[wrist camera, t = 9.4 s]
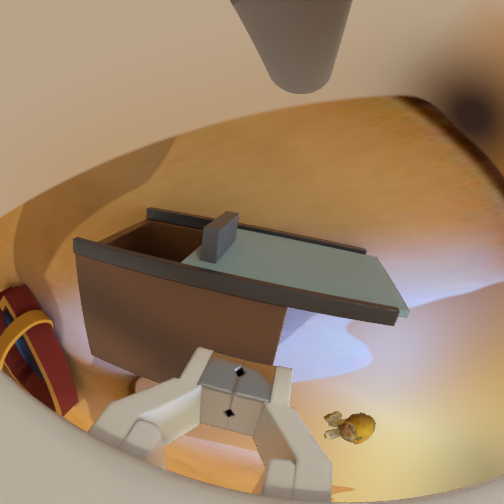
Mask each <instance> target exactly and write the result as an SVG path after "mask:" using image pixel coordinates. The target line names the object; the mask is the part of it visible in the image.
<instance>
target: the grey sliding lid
mask: <svg viewBox="0 0 504 504" xmlns="http://www.w3.org/2000/svg"><path fill="white" fill-rule="evenodd" d="M238 219H239V213H233V212H228V211H226V212H225V213H223V214H222V215H221V216H219V217H218V218H216V219H215V220H213V221H212V222H210V223H209V224H208V225H206V226H205V227H204V228H203V236H202V245H200V246H199V247H198V248H197V249H196V250H195V251H194V252H192V253H191V254H190V255H189V256H188V257H187V258H185V259H184V260H183V261H182V262H181V263H184V264H188V265H193V266H197V267H201V268H206V269H210V270H215V271H219V272H224V273H228V274H233V275H237V276H242V277H246V278H251V279H256V280H260V281H265V282H270V283H275V284H279V285H284V286H289V287H294V288H299V289H304V290H309V291H314V292H319V293H324V294H329V295H334V296H339V297H345V298H350V299H355V300H361V301H366V302H371V303H377V304H382V305H388V306H394V307H398V308H399V310H400V313H399V315H398V317H404V318H407V317H408V315H409V312H410V310H409V308H408V307H407V305H406V303H405V302H404V300H403V298H402V296H401V295H400V293H399V291H398V290H397V288H396V286H395V285H394V283H393V282H392V280H391V278H390V277H389V275H388V273H387V272H386V270H385V269H384V267H383V266H382V264H381V262H380V261H379V259H378V258H377V257H374V256H369V255H365V254H360V253H355V252H351V251H346V250H341V249H337V248H332V247H327V246H322V245H317V244H313V243H308V242H303V241H298V240H293V239H288V238H283V237H278V236H273V235H268V234H263V233H258V232H253V231H248V230H242V229H237V227H238Z"/></svg>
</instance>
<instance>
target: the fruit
mask: <svg viewBox="0 0 504 504" xmlns="http://www.w3.org/2000/svg"><path fill="white" fill-rule="evenodd" d="M341 416H342V415H341V413H340V412H334V413H332V414H328V415H326V416H325V417H324V419H325V420H326V421H327V422H328V423H329V426H332V427H338V428H337V429H333V430H328V431H326V433H325V434H324V436H325V438H326V439H334V438H336V437H339V436H341V437H342V438H343V439H345V440H346V441H349V442H353V443H354V444H360V443H362V442H364V441H365V440H367V439H368V438H369V437H370V436H371V435H372V433H373V432H374V430H375V424H376V423H375V421H374V419H373V418H372V417H371V416H368V415H366V414H364V413H359V414H352V415H351V416H350V417H349V418H347V419H343V420H342V419H341Z"/></svg>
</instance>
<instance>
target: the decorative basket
mask: <svg viewBox="0 0 504 504" xmlns="http://www.w3.org/2000/svg"><path fill="white" fill-rule="evenodd" d="M53 325H54V324H53V322H52V320H51V319H50V318H49V317H48V316H47V315H46V314H45V312H44V311H42V309H41V308H40V306H39V304H38V303H37V301H36V300H35V298H34V296H33V295H32V293H31V292H30V290H29V289H28V288H27V286H26V285H23V286H21V287H18V286H17V287H15V288H12V287H10V288H8V289H6V290H4V291H2V292H0V369H1V370H2V368H3V363H4V364H6V366H7V368H8V370H9V371H10V373H11V374H12V375H13V376H14V378H15V379H16V380H17V381H18V382H19V384H20V385H21V386H22V388H23V389H25V390H26V391H27V392H28V393H30V394H31V395H32V396H33V397H35V398H36V399H37V400H39V401H40V402H42V403H43V404H44V405H46V406H47V407H48V408H50V409H51V410H53V411H54V412H56V413H57V414H59V415H60V416H62V417H63V416H64V415H65V414H66V413H67V412H68V411H69V410H70V409H71V408H72V407H73V406H74V405H75V404H76V403H77V402H78V396H77V391H76V387H75V384H74V380H73V377H72V374H71V371H70V368H69V366H68V363H67V361H66V358H65V356H64V353H63V351H62V349H61V347H60V345H59V342H58V340H57V338H56V336H55V334H54V332H53Z"/></svg>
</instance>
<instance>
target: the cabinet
mask: <svg viewBox="0 0 504 504" xmlns="http://www.w3.org/2000/svg"><path fill="white" fill-rule="evenodd" d="M146 218H147V219H146V220H144V221H142V222H140V223H137V224H135V225H133V226H131V227H129V228H126V229H124V230H122V231H120V232H118V233H116V234H114V235H111V236H109V237H107V238H105V239H103V240H101V241H99V242H94V241H90V240H86V239H83V238H79V237H76V238H74V239H73V250H74V253H75V256H76V266H77V275H78V284H79V291H80V298H81V304H82V310H83V316H84V321H85V327H86V332H87V336H88V341H89V346H90V350H91V354H92V355H93V356H95V357H98V358H100V359H102V360H104V361H106V362H108V363H111V364H113V365H115V366H117V367H120V368H122V369H125V370H127V371H129V372H132V373H134V374H137V375H139V376H142V377H144V378H147V379H150V380H152V381H155V382H158V383H162V382H165V381H167V380H169V379H172V378H178V379H179V377H180V376H181V374H182V372H183V371H184V369H185V367H186V365H187V364H188V362H189V360H190V359H191V357H192V355H193V353H194V352H195V350H196V349H197V348H198V347H199V346H200V347H203V348H206V349H210V350H213V351H217V352H221V353H224V354H228V355H231V356H235V357H239V358H242V359H246V360H251V361H255V362H260V363H264V364H269V365H273V363H274V359H275V355H276V351H277V348H278V344H279V340H280V336H281V332H282V328H283V324H284V320H285V316H286V312H287V308H288V307H290V308H295V309H300V310H305V311H310V312H316V313H321V314H326V315H331V316H337V317H342V318H348V319H354V320H360V321H365V322H372V323H377V324H384V325H390V326H394V325H395V323H396V320H397V318H398V315H399V313H400V310H399V308H398V307H394V306H388V305H382V304H377V303H371V302H366V301H361V300H355V299H350V298H345V297H339V296H334V295H329V294H324V293H319V292H314V291H309V290H304V289H299V288H294V287H289V286H284V285H279V284H275V283H270V282H265V281H260V280H256V279H251V278H246V277H242V276H237V275H233V274H228V273H224V272H219V271H215V270H210V269H206V268H201V267H197V266H193V265H188V264H184V263H181V262H182V261H183V260H184V259H185V258H187V257H188V256H189V255H190V254H191V253H192V252H194V251H195V250H196V249H197V248H198V247H199V246H200V245H202V236H203V228H204V227H205V226H206V225H208V224H209V223H210V222H212V221H213V220H215V219H214V218H209V217H203V216H198V215H192V214H186V213H180V212H175V211H169V210H163V209H157V208H151V207H150V208H147V217H146ZM237 229H242V230H248V231H253V232H258V233H263V234H268V235H273V236H278V237H283V238H288V239H293V240H298V241H303V242H308V243H313V244H317V245H322V246H327V247H332V248H337V249H341V250H346V251H351V252H355V253H360V254H365V255H366V252H367V251H366V249H364V248H359V247H354V246H350V245H345V244H340V243H336V242H331V241H326V240H322V239H317V238H312V237H307V236H302V235H297V234H292V233H287V232H282V231H277V230H272V229H267V228H262V227H257V226H252V225H246V224H241V223H238V227H237Z"/></svg>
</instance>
